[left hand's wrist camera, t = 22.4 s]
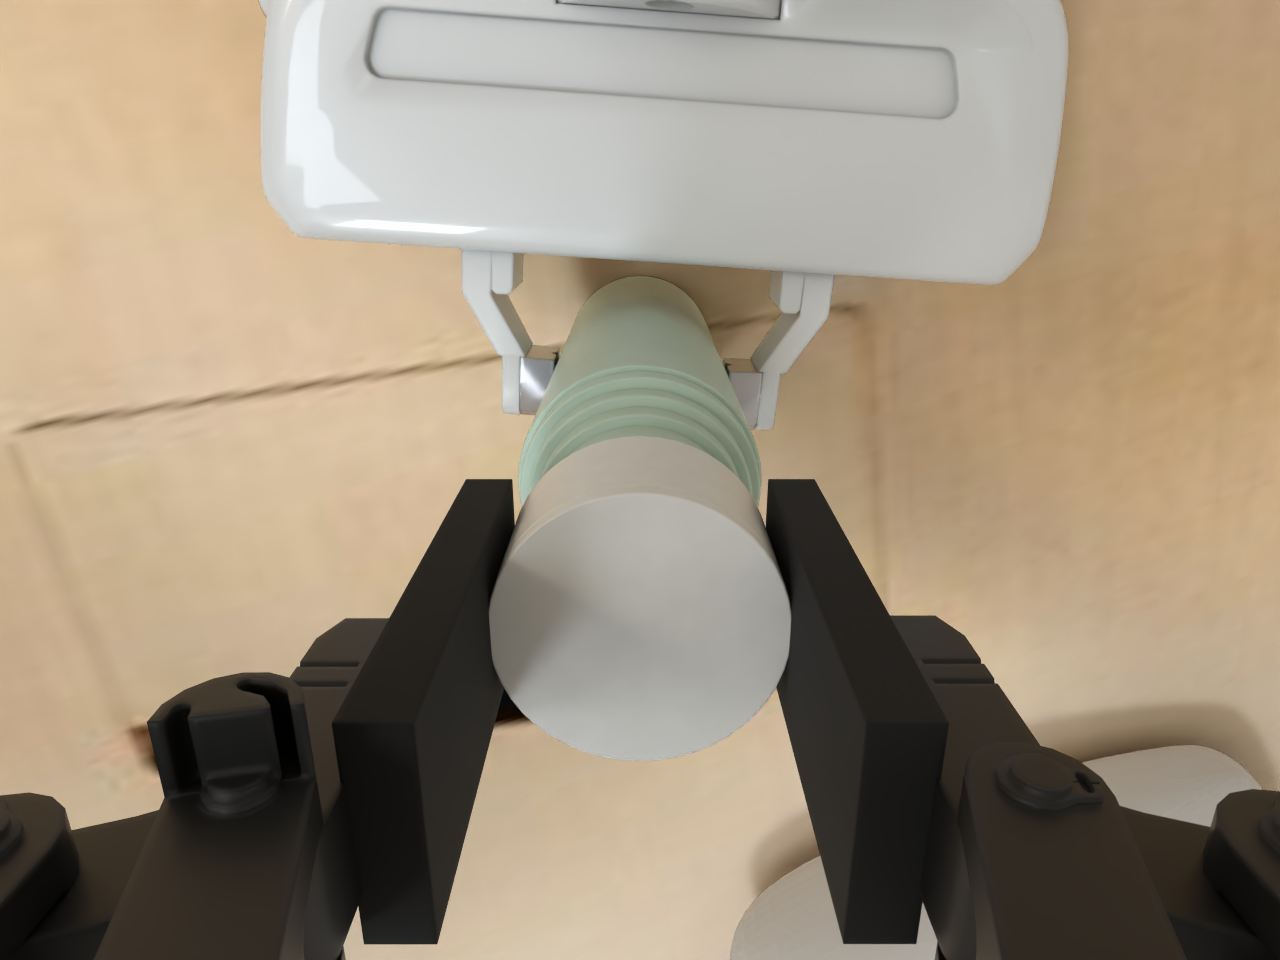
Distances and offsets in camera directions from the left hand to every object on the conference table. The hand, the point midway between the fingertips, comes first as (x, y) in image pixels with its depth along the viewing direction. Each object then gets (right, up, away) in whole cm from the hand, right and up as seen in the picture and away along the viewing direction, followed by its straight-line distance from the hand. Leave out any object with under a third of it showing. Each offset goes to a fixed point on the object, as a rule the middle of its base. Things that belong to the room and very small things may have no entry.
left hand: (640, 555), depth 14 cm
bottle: (0, +6, +17) cm, 18 cm away
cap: (0, -1, -2) cm, 2 cm away
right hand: (0, +3, +11) cm, 11 cm away
